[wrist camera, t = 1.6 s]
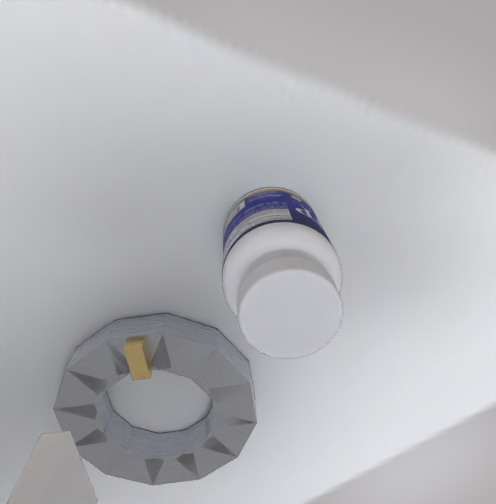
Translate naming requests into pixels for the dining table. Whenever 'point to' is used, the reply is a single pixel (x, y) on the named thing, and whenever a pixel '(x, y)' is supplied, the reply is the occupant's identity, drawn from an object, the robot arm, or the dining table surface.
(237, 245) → the pill bottle
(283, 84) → the dining table surface
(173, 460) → the hub
